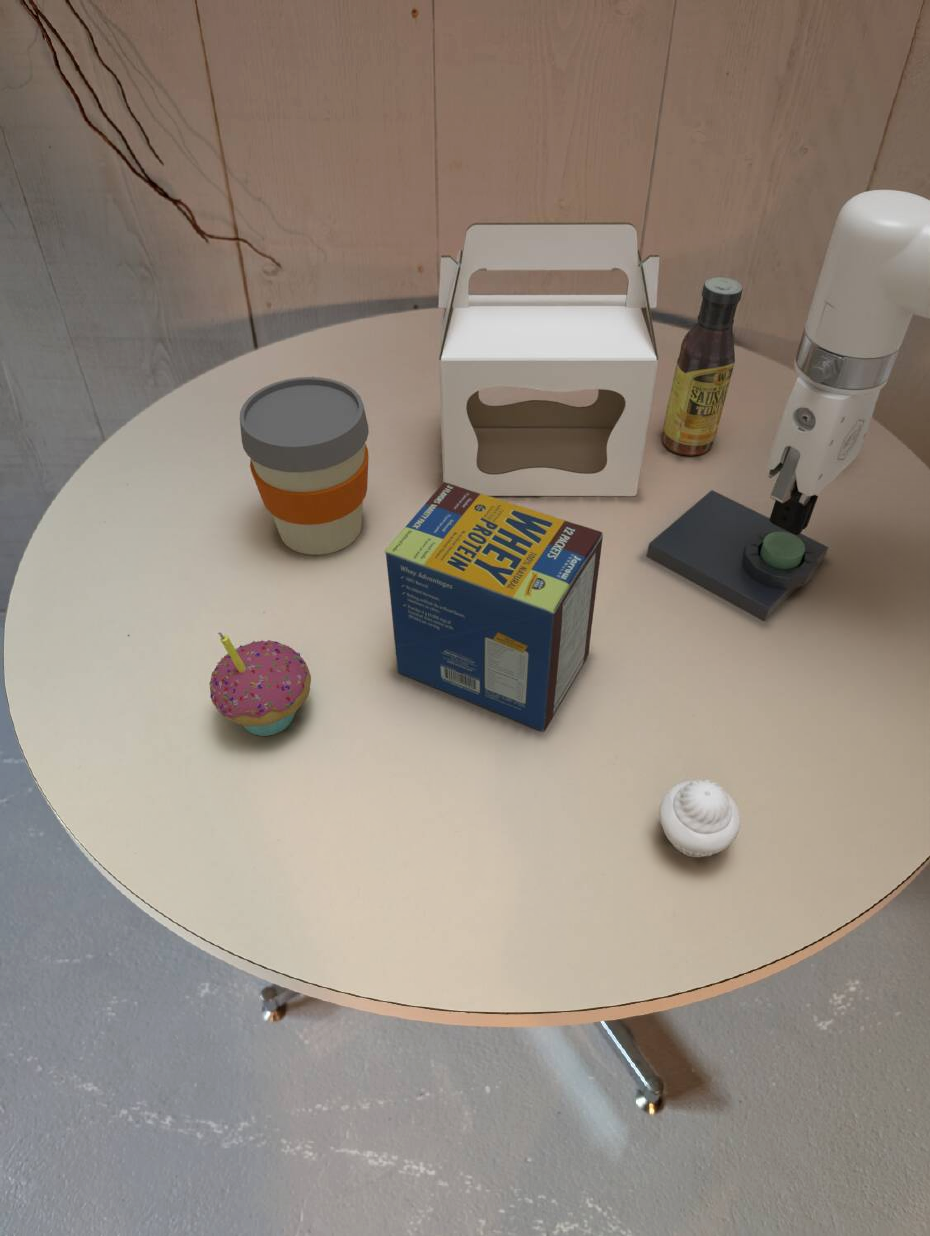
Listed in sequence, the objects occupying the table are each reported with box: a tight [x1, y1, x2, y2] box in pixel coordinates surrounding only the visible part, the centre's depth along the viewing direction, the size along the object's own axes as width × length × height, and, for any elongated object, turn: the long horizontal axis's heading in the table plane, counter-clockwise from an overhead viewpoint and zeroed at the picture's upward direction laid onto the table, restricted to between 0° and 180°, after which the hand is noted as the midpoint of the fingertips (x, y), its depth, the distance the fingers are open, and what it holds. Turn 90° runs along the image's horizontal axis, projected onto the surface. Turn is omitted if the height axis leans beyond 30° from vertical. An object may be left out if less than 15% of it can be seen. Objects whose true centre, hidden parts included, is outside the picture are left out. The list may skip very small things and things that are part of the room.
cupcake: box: [208, 631, 312, 737], centre depth 77 cm, size 9×8×12 cm
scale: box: [646, 489, 829, 622], centre depth 94 cm, size 15×12×4 cm
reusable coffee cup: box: [239, 376, 370, 556], centre depth 94 cm, size 12×13×15 cm
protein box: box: [384, 482, 604, 732], centre depth 80 cm, size 10×15×16 cm
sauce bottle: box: [661, 276, 743, 457], centre depth 102 cm, size 7×6×20 cm
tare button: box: [760, 532, 805, 570], centre depth 90 cm, size 4×4×2 cm
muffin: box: [658, 778, 741, 858], centre depth 70 cm, size 6×6×7 cm
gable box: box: [437, 221, 660, 497], centre depth 97 cm, size 22×13×28 cm, turn 89°
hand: (787, 524), depth 88 cm, fingers closed
